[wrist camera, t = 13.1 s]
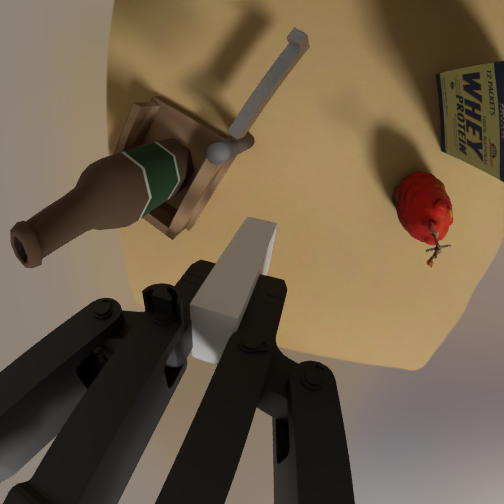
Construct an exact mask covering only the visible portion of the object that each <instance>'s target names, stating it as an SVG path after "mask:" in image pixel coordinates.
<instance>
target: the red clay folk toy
mask: <svg viewBox="0 0 504 504" xmlns="http://www.w3.org/2000/svg"><path fill="white" fill-rule="evenodd" d="M392 200H393V203H394V205H395V207H396V211H397V215H398V218H399V221H400V223H401V224H402V226H403V227H404V229H405V230H406V231H408V233H409V234H410V235H411V236H412V237H413V238H415V239H417V240H419V241H421V242H425V243H427V244H429V245H436V247H435V248H431V249H427V250H426V252H428V251H432V250H435V252H434V254H433V256H432V257H431V258H430V259H429V260H427V264H428V265H429V266H430V267H432V265H433V260H434V258H437V256H438V254H440V252H441V249H442V248H444V247H450V246H451V245H445V246H440V245H439V244H438V241H439V240H442V239H443V238H444V237H445V236H446V234H447V232H448V229H449V226H450V225H451V224H452V223H453V213H452V205H451V201H450V198H449V196H448V195H447V193H446V191H445V186H444V184H443V183H442V182H441V181H440V180H438V179H437V178H436V177H435V176H434V175H432V174H430V173H426V172H416V173H413V174H411V175H409V176H407V177H406V178H405V179H404V180H403V181H402V182H401V184H400V185H399V186H397V187H396V188H395V189H394V192H393V196H392Z"/></svg>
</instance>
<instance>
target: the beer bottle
mask: <svg viewBox="0 0 504 504" xmlns="http://www.w3.org/2000/svg"><path fill="white" fill-rule="evenodd" d="M193 173H194V168H193V162H192V157H191V152H190V150H189V149H188V148H186V147H185V146H184V145H182V144H181V143H180V142H178V141H177V140H175V139H174V138H169V139H164V140H160V141H156V142H152V143H148V144H145V145H142V146H138V147H135V148H132V149H129V150H125V151H122V152H119V153H116V154H113V155H111V156H108V157H105V158H102V159H100V160H98V161H96V162H94V163H92V164H90V165H89V166H88V167H87V168H86V169H85V170H84V171H83V173H82V174H81V176H80V178H79V180H78V182H77V185H76V187H75V188H74V189H72V190H71V191H70V192H69V193H67V194H66V195H65V196H63V197H62V198H60V199H59V200H57V201H55V202H54V203H52V204H51V205H49V206H48V207H46V208H45V209H43V210H42V211H41V212H39V213H37V214H36V215H34V216H33V217H32V218H30V219H29V220H27V221H26V222H25V221H21V222H17V223H16V224H15V226H14V227H13V228H12V229H11V230H10V232H11V233H10V234H11V245H12V248H13V250H14V252H15V255H16V257H17V258H18V259H19V261H20V262H21V263H22V264H23V265H24V266H25V267H26V268H34V267H37V266H39V265H41V264H42V259H43V258H44V257H46V256H47V255H49V254H50V253H52V252H53V251H55V250H56V249H58V248H60V247H61V246H63V245H64V244H66V243H68V242H69V241H71V240H73V239H74V238H76V237H78V236H79V235H81V234H83V233H84V232H86V231H89V230H91V229H97V230H103V229H113V228H121V227H127V226H129V225H131V224H133V223H134V222H136V221H138V220H140V219H141V218H142V217H144V216H145V215H147V214H148V213H149V212H151V211H152V210H154V209H155V208H157V207H158V206H159V205H161V204H162V203H164V202H165V201H167V200H168V199H170V198H171V197H173V196H174V195H176V194H177V193H179V192H180V191H181V190H182V189H183V188H184V187H185V185H186V184H187V182H188V181H189V179H190V177H191V176H192V174H193Z"/></svg>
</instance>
